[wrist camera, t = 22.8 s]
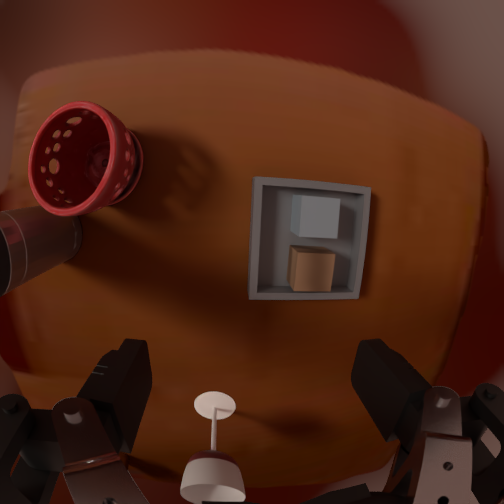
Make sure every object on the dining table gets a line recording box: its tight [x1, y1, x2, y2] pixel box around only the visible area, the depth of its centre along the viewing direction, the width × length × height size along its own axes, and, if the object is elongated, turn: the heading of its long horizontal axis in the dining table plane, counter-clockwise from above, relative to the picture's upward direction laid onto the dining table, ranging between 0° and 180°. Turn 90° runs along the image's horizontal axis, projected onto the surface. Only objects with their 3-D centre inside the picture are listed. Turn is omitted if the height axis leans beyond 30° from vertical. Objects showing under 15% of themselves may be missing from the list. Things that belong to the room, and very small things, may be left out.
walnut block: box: [286, 245, 336, 292], centre depth 38 cm, size 5×5×5 cm
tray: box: [247, 177, 371, 300], centre depth 38 cm, size 16×16×4 cm
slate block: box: [290, 195, 340, 239], centre depth 36 cm, size 5×5×5 cm
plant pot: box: [28, 101, 143, 216], centre depth 29 cm, size 13×13×12 cm
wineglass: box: [180, 392, 245, 504], centre depth 35 cm, size 8×9×20 cm
